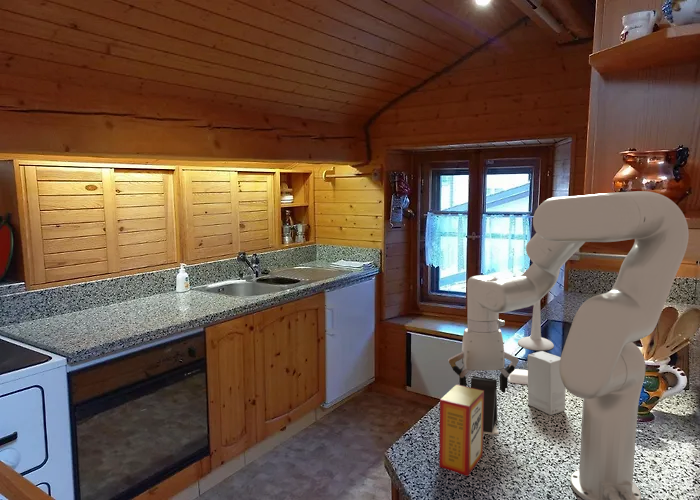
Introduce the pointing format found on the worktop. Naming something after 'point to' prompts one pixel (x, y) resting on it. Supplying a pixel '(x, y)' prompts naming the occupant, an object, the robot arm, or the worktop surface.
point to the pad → (492, 432)
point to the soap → (519, 376)
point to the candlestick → (536, 334)
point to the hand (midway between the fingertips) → (483, 390)
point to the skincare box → (545, 383)
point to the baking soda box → (461, 429)
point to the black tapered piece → (487, 400)
